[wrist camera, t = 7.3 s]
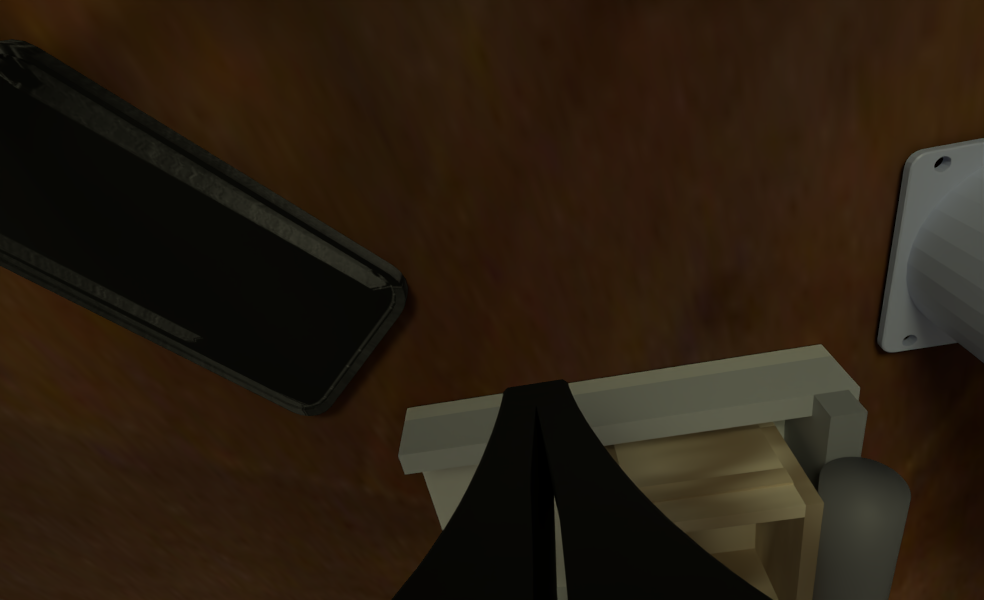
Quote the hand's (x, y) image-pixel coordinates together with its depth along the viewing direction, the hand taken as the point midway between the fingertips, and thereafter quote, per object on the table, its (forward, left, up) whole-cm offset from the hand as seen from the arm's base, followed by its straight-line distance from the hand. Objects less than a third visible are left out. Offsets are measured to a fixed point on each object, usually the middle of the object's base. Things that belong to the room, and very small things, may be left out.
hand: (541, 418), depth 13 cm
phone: (+12, -2, -10) cm, 16 cm away
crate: (-5, +13, -8) cm, 16 cm away
